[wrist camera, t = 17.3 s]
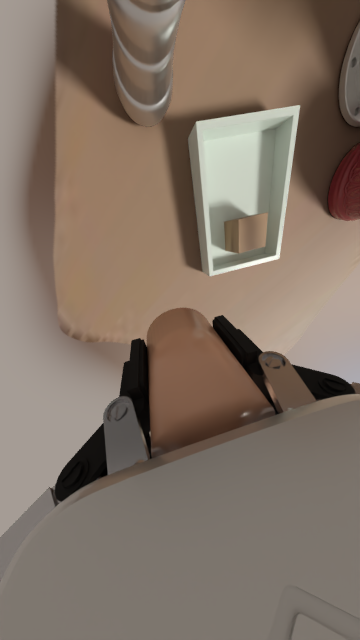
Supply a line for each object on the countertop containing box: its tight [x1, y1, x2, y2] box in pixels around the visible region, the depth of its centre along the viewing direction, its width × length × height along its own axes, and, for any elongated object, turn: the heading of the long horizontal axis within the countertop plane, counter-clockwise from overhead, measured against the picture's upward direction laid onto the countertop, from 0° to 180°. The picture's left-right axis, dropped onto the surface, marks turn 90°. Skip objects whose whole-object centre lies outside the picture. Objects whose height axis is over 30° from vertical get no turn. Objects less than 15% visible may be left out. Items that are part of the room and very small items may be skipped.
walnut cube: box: [224, 212, 268, 253], centre depth 28 cm, size 5×5×5 cm
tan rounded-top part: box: [147, 308, 275, 458], centre depth 9 cm, size 5×5×7 cm
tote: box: [188, 105, 300, 276], centre depth 27 cm, size 15×20×4 cm
